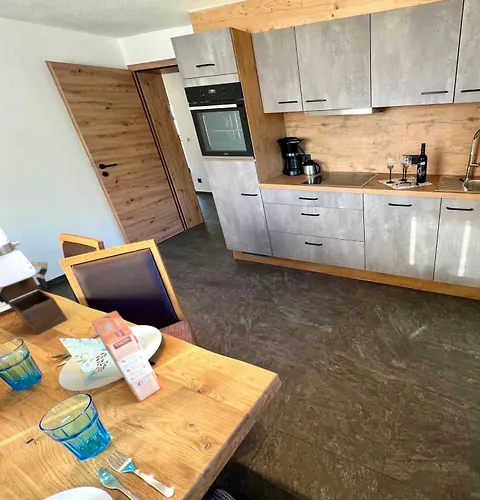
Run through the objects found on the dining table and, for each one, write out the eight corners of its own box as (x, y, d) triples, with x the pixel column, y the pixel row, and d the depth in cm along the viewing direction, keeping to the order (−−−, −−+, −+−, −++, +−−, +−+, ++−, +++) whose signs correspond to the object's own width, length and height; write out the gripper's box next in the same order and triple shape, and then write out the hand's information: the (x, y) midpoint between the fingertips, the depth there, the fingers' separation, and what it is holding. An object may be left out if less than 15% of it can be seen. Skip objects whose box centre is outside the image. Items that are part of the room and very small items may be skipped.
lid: (25, 263, 100) (17, 256, 101) (-11, 275, 93) (-19, 268, 94) (39, 288, 107) (32, 282, 109) (7, 302, 101) (0, 295, 102)
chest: (67, 319, 107) (53, 297, 102) (37, 335, 101) (20, 312, 96) (53, 310, 113) (39, 289, 108) (24, 324, 106) (7, 302, 101)
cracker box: (163, 387, 80) (133, 331, 70) (139, 403, 76) (104, 346, 66) (145, 362, 88) (116, 308, 78) (122, 375, 84) (88, 321, 74)
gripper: (28, 237, 99) (53, 279, 107) (-50, 260, 86) (-14, 306, 94) (37, 242, 96) (62, 284, 104) (-43, 266, 82) (-6, 313, 90)
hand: (26, 294), depth 99 cm, fingers open, 9 cm apart
